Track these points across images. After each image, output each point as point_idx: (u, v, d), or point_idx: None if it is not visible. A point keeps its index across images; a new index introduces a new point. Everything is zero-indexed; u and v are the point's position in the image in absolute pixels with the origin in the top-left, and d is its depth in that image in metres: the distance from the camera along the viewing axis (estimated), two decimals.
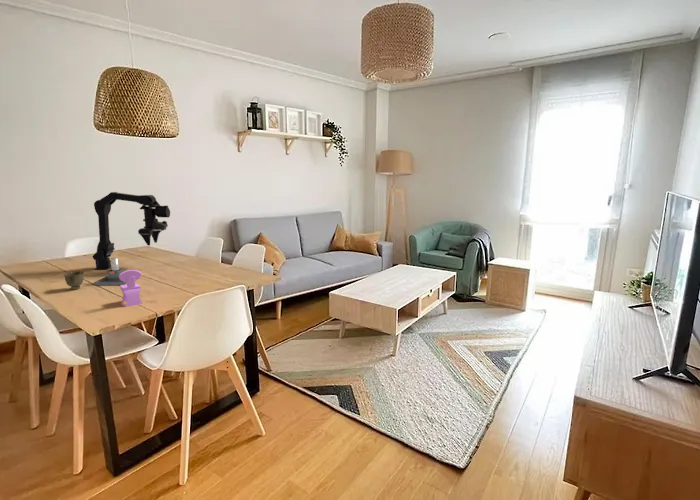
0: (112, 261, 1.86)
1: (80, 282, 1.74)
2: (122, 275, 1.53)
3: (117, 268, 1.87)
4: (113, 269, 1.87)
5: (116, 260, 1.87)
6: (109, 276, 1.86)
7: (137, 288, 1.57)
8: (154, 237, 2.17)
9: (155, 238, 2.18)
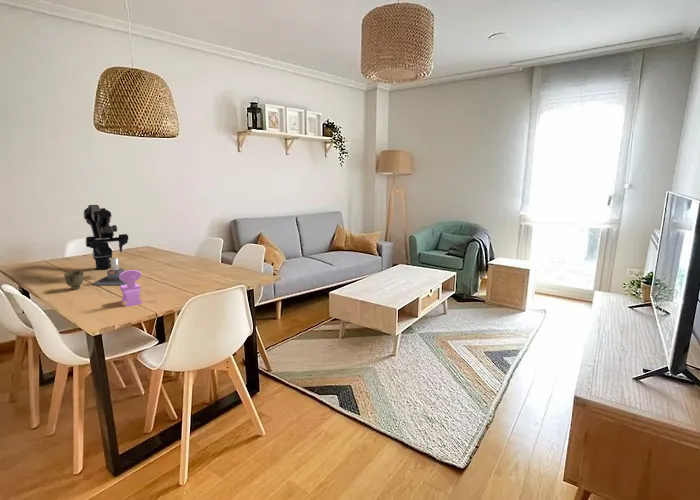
0: (112, 261, 1.86)
1: (80, 282, 1.74)
2: (122, 275, 1.53)
3: (117, 268, 1.87)
4: (113, 269, 1.87)
5: (116, 260, 1.87)
6: (109, 276, 1.86)
7: (137, 288, 1.57)
8: (119, 247, 1.97)
9: (119, 248, 1.97)
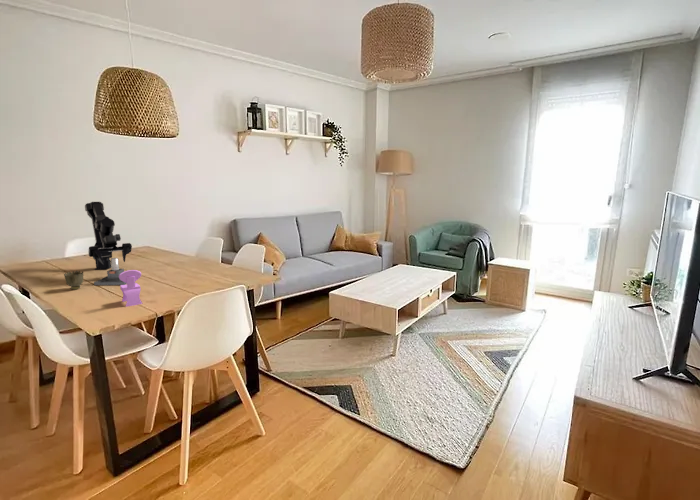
0: (112, 261, 1.86)
1: (80, 282, 1.74)
2: (122, 275, 1.53)
3: (117, 268, 1.87)
4: (113, 269, 1.87)
5: (116, 260, 1.87)
6: (109, 276, 1.86)
7: (137, 288, 1.57)
8: (123, 257, 1.93)
9: (123, 257, 1.92)
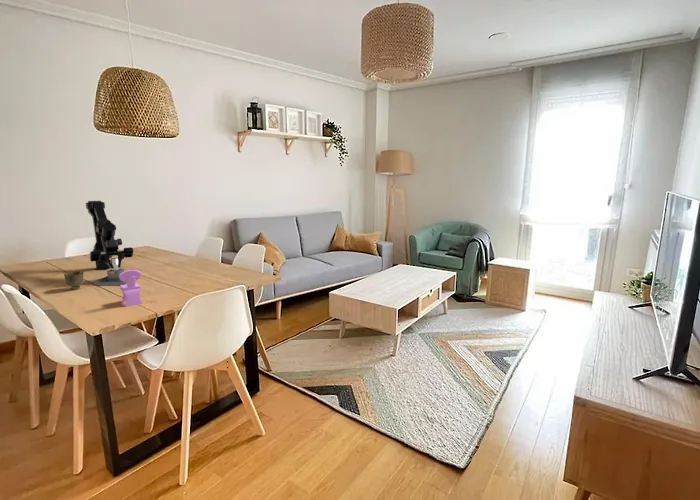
0: (112, 261, 1.86)
1: (80, 282, 1.74)
2: (122, 275, 1.53)
3: (117, 268, 1.87)
4: (113, 269, 1.87)
5: (116, 260, 1.87)
6: (109, 276, 1.86)
7: (137, 288, 1.57)
8: None
9: None
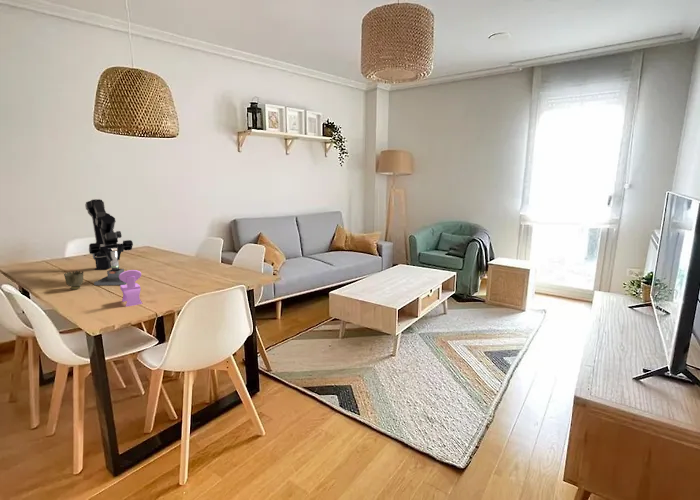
0: (111, 254, 1.85)
1: (80, 282, 1.74)
2: (122, 275, 1.53)
3: (116, 261, 1.87)
4: (112, 262, 1.86)
5: (115, 253, 1.86)
6: (109, 276, 1.86)
7: (137, 288, 1.57)
8: None
9: None
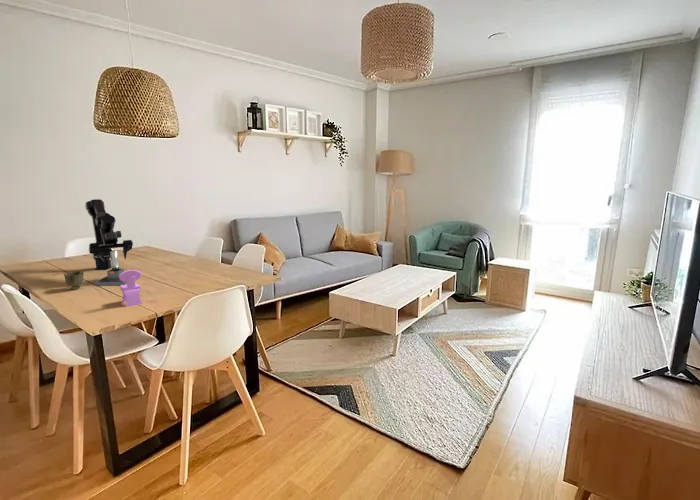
0: (111, 254, 1.85)
1: (80, 282, 1.74)
2: (122, 275, 1.53)
3: (116, 261, 1.87)
4: (112, 262, 1.86)
5: (115, 253, 1.86)
6: (109, 276, 1.86)
7: (137, 288, 1.57)
8: (124, 254, 1.91)
9: (124, 254, 1.90)
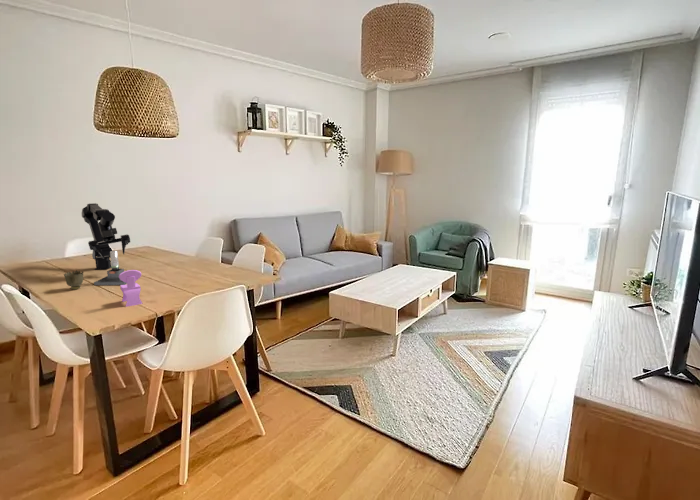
0: (111, 254, 1.85)
1: (80, 282, 1.74)
2: (122, 275, 1.53)
3: (116, 261, 1.87)
4: (112, 262, 1.86)
5: (115, 253, 1.86)
6: (109, 276, 1.86)
7: (137, 288, 1.57)
8: (122, 249, 1.99)
9: (122, 249, 1.99)
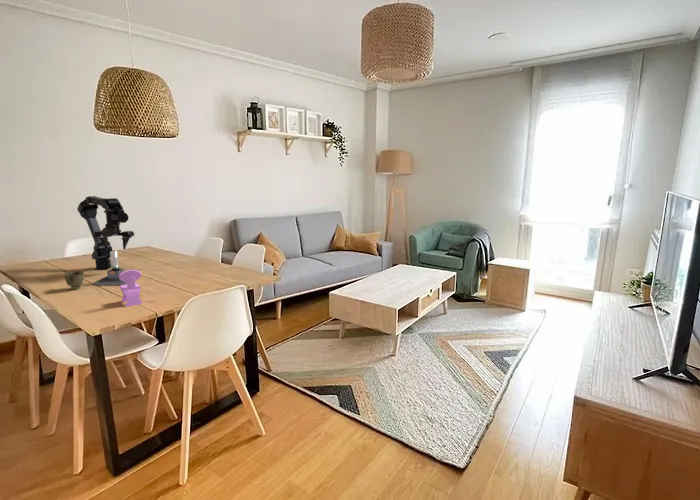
0: (111, 254, 1.85)
1: (80, 282, 1.74)
2: (122, 275, 1.53)
3: (116, 261, 1.87)
4: (112, 262, 1.86)
5: (115, 253, 1.86)
6: (109, 276, 1.86)
7: (137, 288, 1.57)
8: None
9: None
